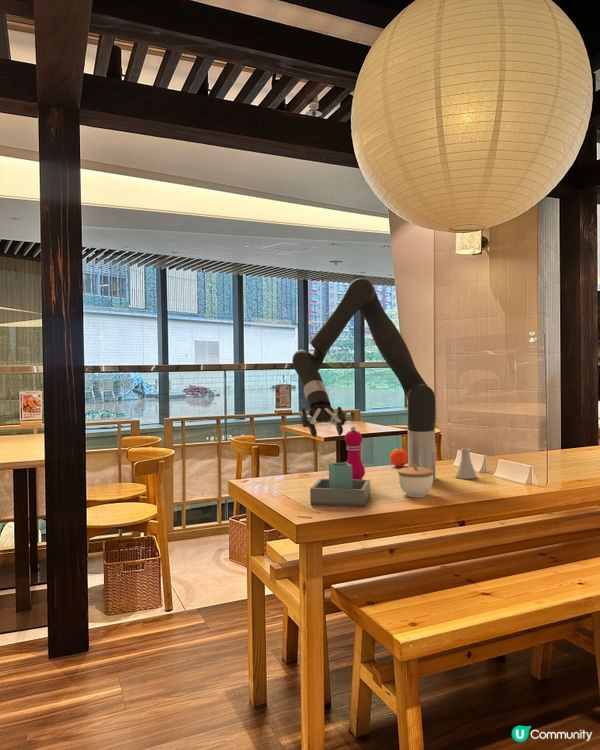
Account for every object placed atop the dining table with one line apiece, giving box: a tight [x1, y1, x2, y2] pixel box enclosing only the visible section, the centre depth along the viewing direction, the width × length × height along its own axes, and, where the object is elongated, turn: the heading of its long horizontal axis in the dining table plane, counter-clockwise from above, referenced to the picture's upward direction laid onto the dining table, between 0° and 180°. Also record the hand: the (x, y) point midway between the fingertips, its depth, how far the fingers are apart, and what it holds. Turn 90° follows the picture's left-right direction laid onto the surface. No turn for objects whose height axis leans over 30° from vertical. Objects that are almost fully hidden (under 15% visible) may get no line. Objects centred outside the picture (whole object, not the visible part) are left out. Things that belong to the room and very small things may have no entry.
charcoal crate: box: [309, 478, 371, 508], centre depth 182 cm, size 16×14×5 cm
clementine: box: [387, 448, 408, 468], centre depth 232 cm, size 8×7×7 cm
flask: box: [455, 448, 477, 480], centre depth 210 cm, size 7×7×10 cm
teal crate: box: [328, 461, 353, 489], centre depth 182 cm, size 6×6×10 cm
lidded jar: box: [397, 465, 434, 498], centre depth 186 cm, size 11×11×9 cm
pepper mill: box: [344, 425, 366, 480], centre depth 202 cm, size 7×7×20 cm
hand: (328, 434), depth 192 cm, fingers open, 8 cm apart
